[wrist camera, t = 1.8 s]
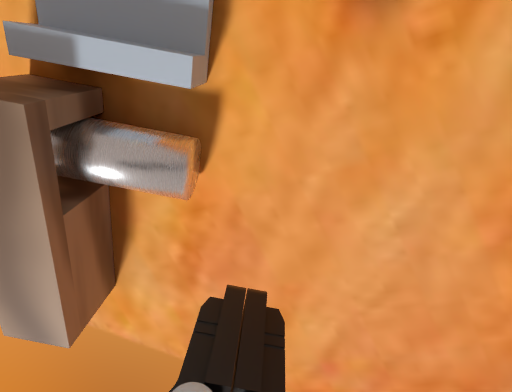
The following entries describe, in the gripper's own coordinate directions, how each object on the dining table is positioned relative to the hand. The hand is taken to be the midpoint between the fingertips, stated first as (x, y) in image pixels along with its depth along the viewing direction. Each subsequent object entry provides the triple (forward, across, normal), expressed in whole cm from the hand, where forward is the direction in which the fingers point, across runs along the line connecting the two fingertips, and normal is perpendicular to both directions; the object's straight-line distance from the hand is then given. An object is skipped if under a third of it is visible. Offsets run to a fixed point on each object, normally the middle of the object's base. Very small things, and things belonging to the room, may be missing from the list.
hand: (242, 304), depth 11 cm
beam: (+12, +14, +5) cm, 19 cm away
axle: (+12, +11, 0) cm, 16 cm away
